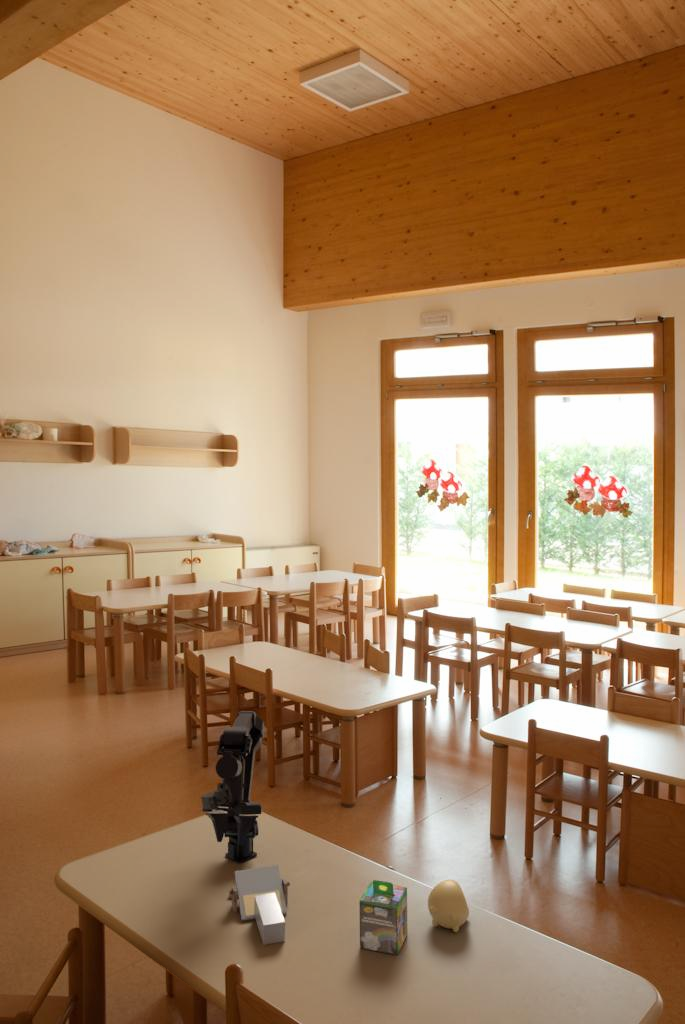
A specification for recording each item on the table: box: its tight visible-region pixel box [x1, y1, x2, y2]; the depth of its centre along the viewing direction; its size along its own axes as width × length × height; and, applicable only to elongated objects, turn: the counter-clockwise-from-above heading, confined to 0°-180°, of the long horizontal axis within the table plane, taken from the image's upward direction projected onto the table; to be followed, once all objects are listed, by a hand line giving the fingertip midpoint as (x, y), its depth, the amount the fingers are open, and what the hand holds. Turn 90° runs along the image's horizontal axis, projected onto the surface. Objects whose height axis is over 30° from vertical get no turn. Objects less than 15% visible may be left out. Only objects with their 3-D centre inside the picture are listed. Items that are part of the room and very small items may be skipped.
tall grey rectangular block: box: [254, 893, 286, 946], centre depth 196 cm, size 5×5×11 cm
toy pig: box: [427, 879, 470, 933], centre depth 199 cm, size 10×12×11 cm
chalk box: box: [358, 879, 408, 956], centre depth 192 cm, size 9×9×15 cm
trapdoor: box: [234, 864, 288, 922], centre depth 207 cm, size 12×11×4 cm
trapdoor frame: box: [228, 877, 291, 914], centre depth 210 cm, size 8×15×6 cm, turn 107°
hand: (229, 843), depth 214 cm, fingers open, 9 cm apart
